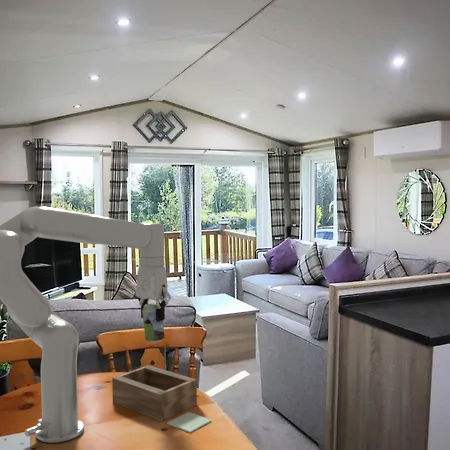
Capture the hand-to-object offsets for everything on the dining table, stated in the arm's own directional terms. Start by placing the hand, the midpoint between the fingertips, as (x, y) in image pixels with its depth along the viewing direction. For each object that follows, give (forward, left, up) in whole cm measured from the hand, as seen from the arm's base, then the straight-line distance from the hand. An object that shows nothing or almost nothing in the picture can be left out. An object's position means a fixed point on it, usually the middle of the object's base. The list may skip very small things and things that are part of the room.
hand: (152, 318), depth 151 cm
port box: (0, 0, -27) cm, 27 cm away
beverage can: (0, 0, -7) cm, 7 cm away
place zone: (-3, -18, -27) cm, 33 cm away
